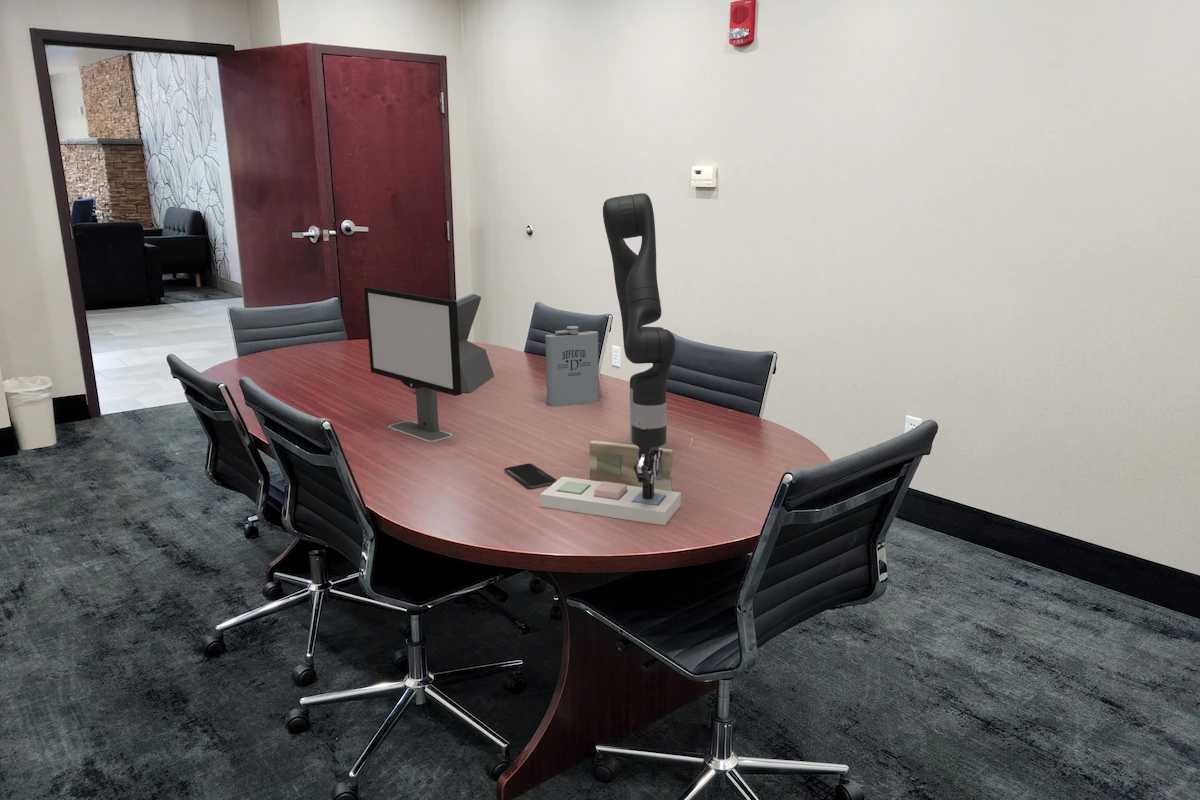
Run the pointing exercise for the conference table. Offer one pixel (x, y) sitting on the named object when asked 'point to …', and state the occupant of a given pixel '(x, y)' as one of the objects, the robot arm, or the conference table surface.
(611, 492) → the key rose
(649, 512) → the keypad
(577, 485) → the key sage
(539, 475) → the phone
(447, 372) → the computer monitor
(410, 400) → the conference table surface
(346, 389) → the conference table surface
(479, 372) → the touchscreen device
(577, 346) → the flask
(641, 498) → the key slate
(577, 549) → the conference table surface
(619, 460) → the card
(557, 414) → the conference table surface
